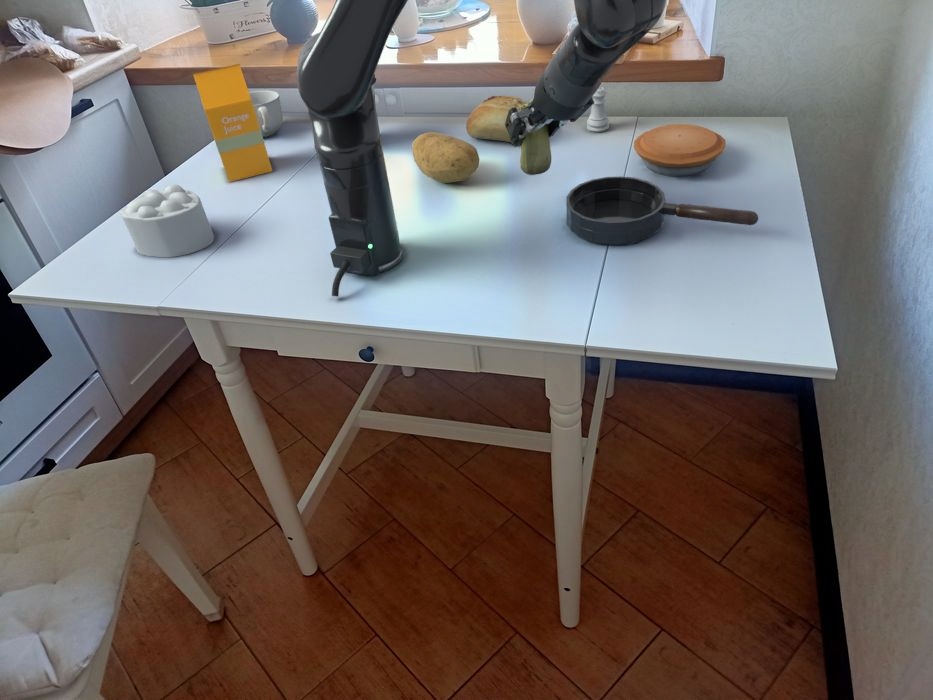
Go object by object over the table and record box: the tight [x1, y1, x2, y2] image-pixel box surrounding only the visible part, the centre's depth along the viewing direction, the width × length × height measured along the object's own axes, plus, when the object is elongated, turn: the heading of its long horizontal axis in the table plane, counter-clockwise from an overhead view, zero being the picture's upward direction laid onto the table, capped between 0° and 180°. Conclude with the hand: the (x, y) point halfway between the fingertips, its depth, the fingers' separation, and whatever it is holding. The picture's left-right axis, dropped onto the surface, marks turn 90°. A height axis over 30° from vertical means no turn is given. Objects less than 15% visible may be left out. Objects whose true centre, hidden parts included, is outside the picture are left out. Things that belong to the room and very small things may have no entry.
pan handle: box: [662, 202, 759, 226], centre depth 105 cm, size 2×14×2 cm, turn 65°
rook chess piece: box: [586, 85, 610, 134], centre depth 139 cm, size 4×4×8 cm
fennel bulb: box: [519, 98, 552, 176], centre depth 114 cm, size 6×5×12 cm
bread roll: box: [465, 95, 528, 143], centre depth 140 cm, size 10×15×8 cm, turn 69°
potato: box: [411, 131, 481, 184], centre depth 128 cm, size 10×14×8 cm
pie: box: [633, 123, 727, 177], centre depth 125 cm, size 16×16×5 cm
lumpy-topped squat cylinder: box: [120, 184, 215, 258], centre depth 121 cm, size 10×13×9 cm
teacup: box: [249, 89, 284, 138], centre depth 155 cm, size 14×11×8 cm
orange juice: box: [192, 63, 273, 183], centre depth 138 cm, size 8×9×20 cm
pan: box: [565, 175, 667, 246], centre depth 112 cm, size 15×15×4 cm
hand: (531, 136), depth 115 cm, fingers closed on fennel bulb, 5 cm apart
